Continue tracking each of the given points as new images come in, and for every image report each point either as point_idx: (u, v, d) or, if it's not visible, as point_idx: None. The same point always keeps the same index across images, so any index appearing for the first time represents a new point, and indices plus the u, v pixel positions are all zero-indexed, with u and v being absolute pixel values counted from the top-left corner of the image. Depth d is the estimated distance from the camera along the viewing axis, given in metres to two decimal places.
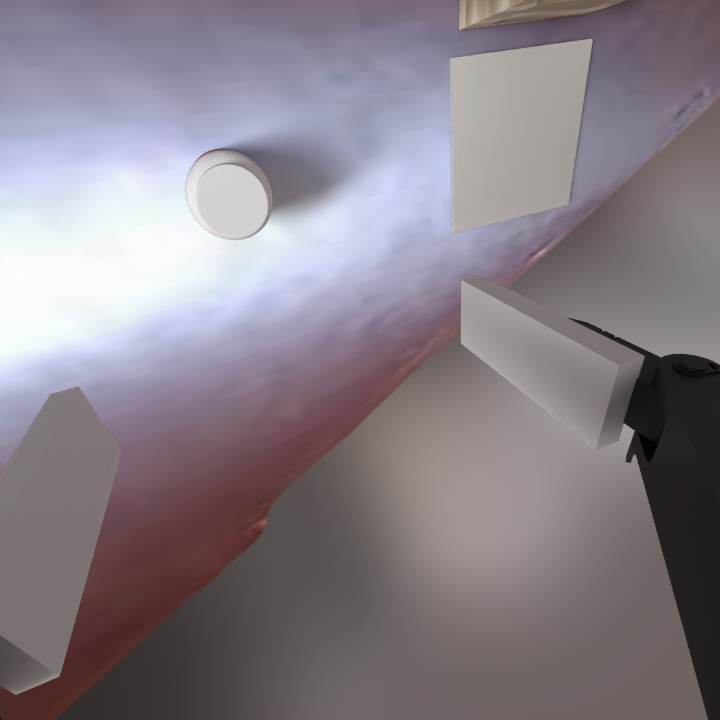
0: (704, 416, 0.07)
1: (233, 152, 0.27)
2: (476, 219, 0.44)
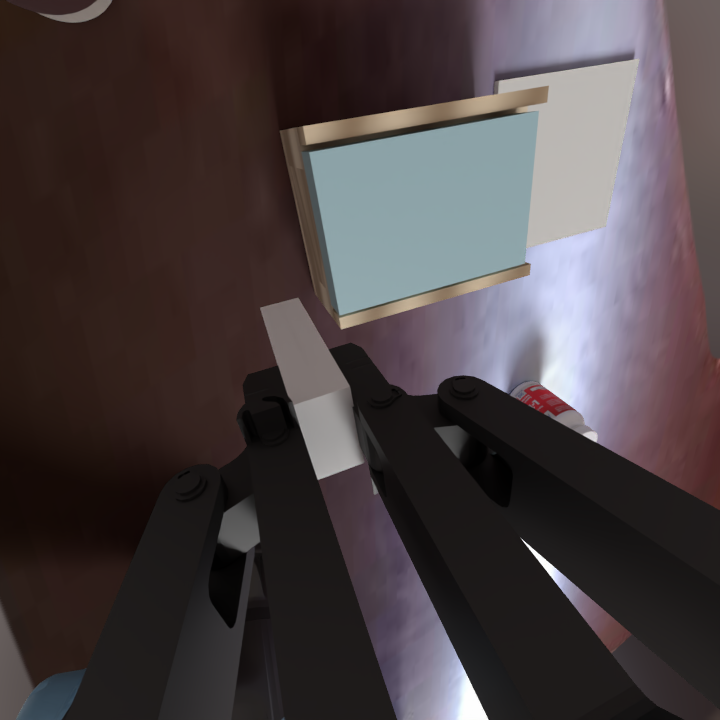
0: (402, 449, 0.08)
1: None
2: (604, 202, 0.44)
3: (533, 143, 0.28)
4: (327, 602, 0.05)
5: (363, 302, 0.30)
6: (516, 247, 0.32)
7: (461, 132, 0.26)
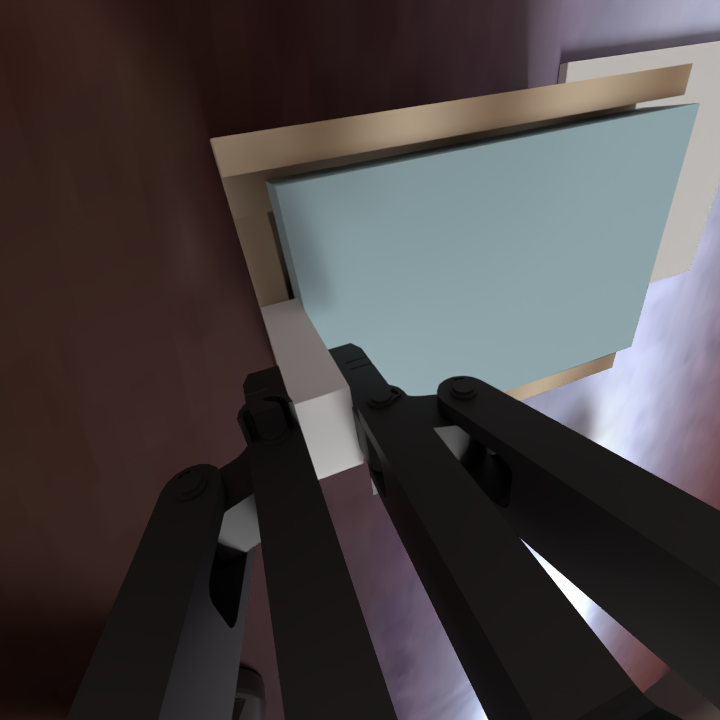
0: (402, 449, 0.08)
1: None
2: (692, 239, 0.31)
3: (680, 160, 0.16)
4: (328, 601, 0.05)
5: None
6: (623, 325, 0.20)
7: (566, 143, 0.14)
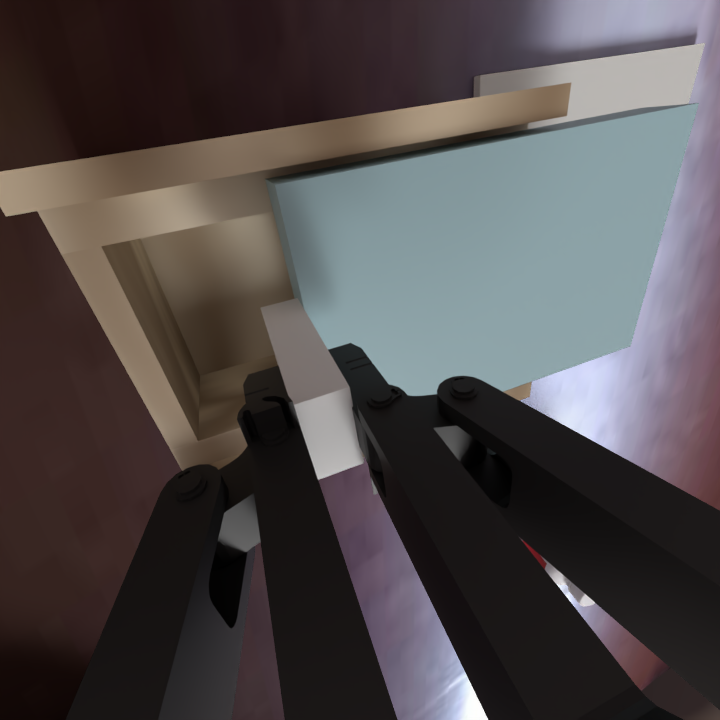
0: (402, 449, 0.08)
1: None
2: None
3: (678, 160, 0.16)
4: (328, 601, 0.05)
5: None
6: (622, 325, 0.20)
7: (566, 143, 0.14)
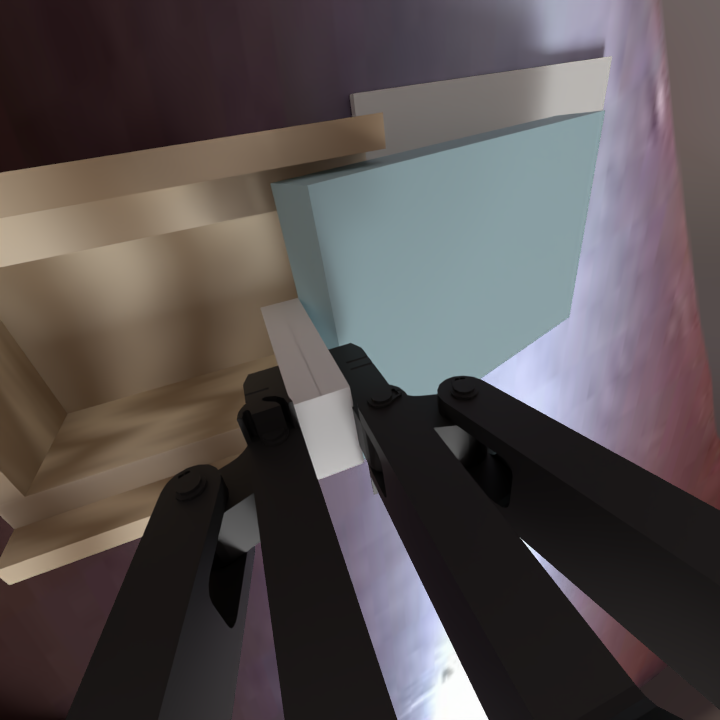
0: (402, 449, 0.08)
1: None
2: None
3: (594, 157, 0.19)
4: (327, 602, 0.05)
5: None
6: (564, 299, 0.23)
7: (528, 142, 0.16)
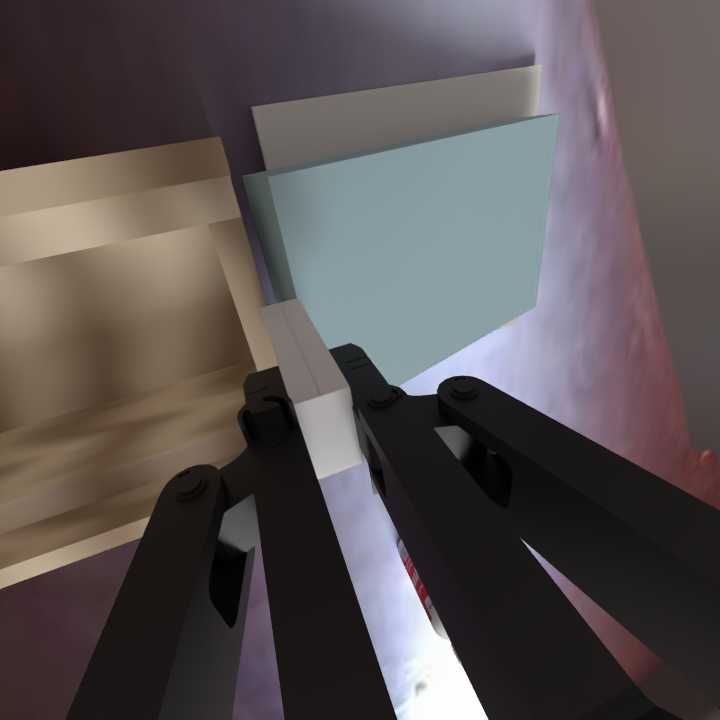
0: (402, 449, 0.08)
1: (436, 622, 0.32)
2: None
3: (551, 156, 0.21)
4: (328, 601, 0.05)
5: None
6: (528, 289, 0.25)
7: (480, 141, 0.18)
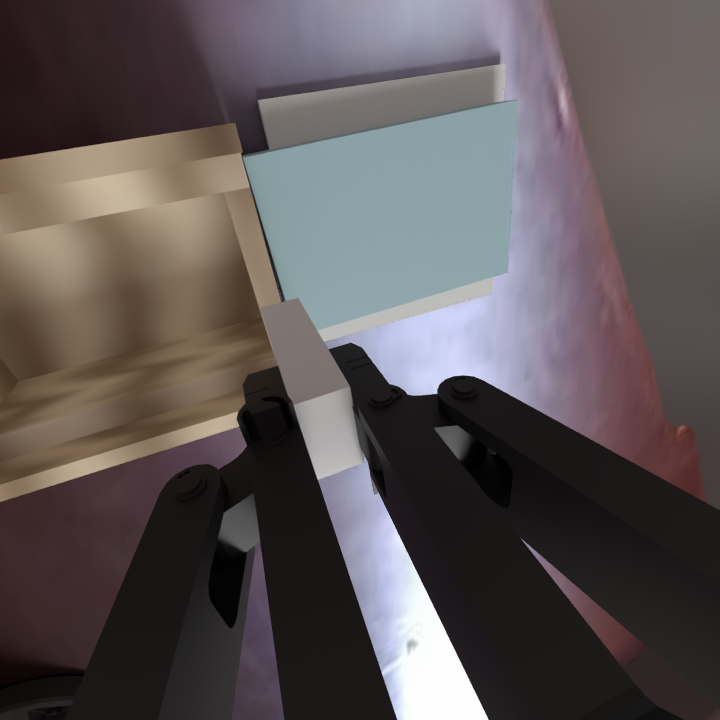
0: (403, 449, 0.08)
1: None
2: None
3: (512, 137, 0.24)
4: (327, 602, 0.05)
5: (322, 321, 0.26)
6: (497, 255, 0.28)
7: (425, 128, 0.22)
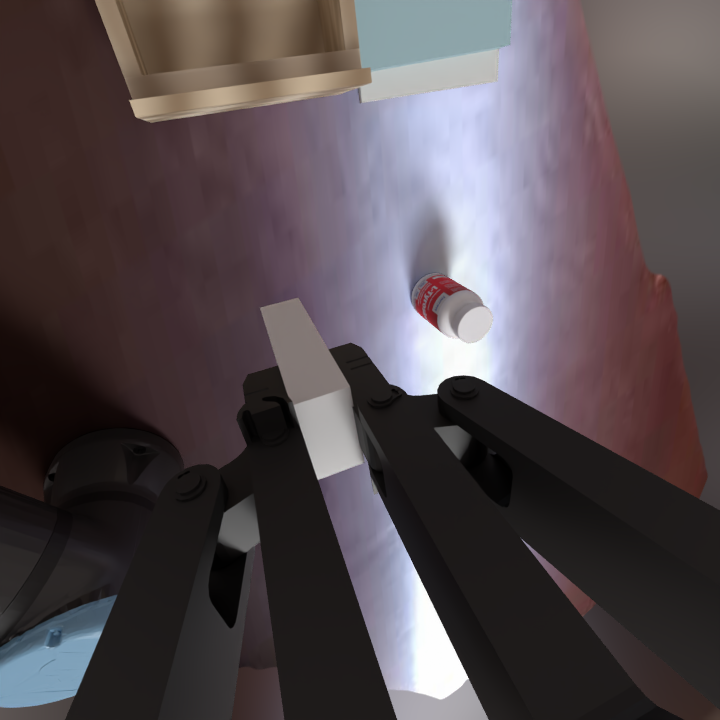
0: (403, 449, 0.08)
1: (441, 314, 0.45)
2: None
3: None
4: (327, 601, 0.05)
5: (372, 62, 0.35)
6: (502, 25, 0.37)
7: None
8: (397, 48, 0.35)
